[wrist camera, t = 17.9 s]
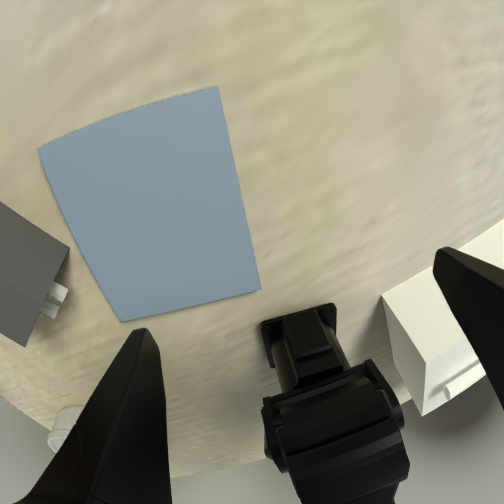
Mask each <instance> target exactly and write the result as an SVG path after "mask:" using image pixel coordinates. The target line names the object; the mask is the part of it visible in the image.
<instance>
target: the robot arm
mask: <svg viewBox="0 0 504 504" xmlns="http://www.w3.org/2000/svg"><path fill="white" fill-rule="evenodd" d="M432 271H433V276H434V278H435V280H436V282H437V284H438V286H439V288H440V290H441V292H442V294H443V296H444V298H445V300H446V302H447V304H448V306H449V308H450V310H451V312H452V314H453V315H454V317H455V319H456V321H457V322H458V324H459V326H460V327H461V329H462V331H463V332H464V334H465V336H466V338H467V339H468V341H469V343H470V345H471V346H472V348H473V350H474V352H475V354H476V355H477V357H478V359H479V361H480V363H481V365H482V367H483V369H484V371H485V373H486V374H487V376H488V378H489V380H490V382H491V384H492V386H493V389H494V391H495V392H496V395H497V397H498V399H499V401H500V403H501V405H502V408H503V410H504V269H502V268H499V267H497V266H495V265H492V264H490V263H488V262H485V261H483V260H480V259H478V258H476V257H473V256H471V255H468V254H466V253H463V252H461V251H458V250H456V249H453V248H451V247H443V248H440V249H438V250H437V252H436V255H435V260H434V264H433V270H432ZM330 308H331V309H330ZM336 317H337V308H336V306H335V304H334V303H328V304H324V305H321V306H317V307H314V308H310V309H307V310H303V311H299V312H296V313H292V314H288V315H285V316H281V317H277V318H273V319H269V320H266V321H263V322H261V324H260V329H261V333H262V337H263V341H264V345H265V349H266V353H267V357H268V361H269V365H270V368H276V371H277V375H278V378H279V382H280V385H281V389H282V392H283V393H281V394H278V395H275V396H272V397H270V396H268V397H265V398H263V405H264V407H262V410H261V414H262V418H263V423H264V430H265V437H264V452H265V455H266V457H267V458H269V459H271V460H273V461H274V463H275V464H276V465H277V467H278V469H279V471H280V472H281V473H282V474H283V473H287V472H289V474H290V477H291V479H292V482H293V485H294V487H295V490H296V493H297V495H298V497H299V498H300V500H301V503H302V504H395V502H394V496H395V494H396V491H397V488H398V485H399V482H401V481H403V480H405V479H406V478H407V477H408V472H409V467H410V462H409V459H408V456H407V454H406V450H405V447H404V443H403V440H402V436H401V433H400V430H402V429H403V428H404V417H403V413H402V409H401V407H400V404H399V401H398V399H397V397H396V395H395V393H394V392H393V390H392V388H391V387H390V386H389V384H388V383H387V381H386V380H385V378H384V377H383V375H382V374H381V372H380V371H379V370H378V368H377V367H376V365H375V364H374V362H373V361H372V359H371V358H370V359H368V360H366V361H364V363H361V364H359V365H357V366H354V367H352V368H351V367H350V365H349V363H348V361H347V359H346V357H345V354H344V352H343V350H342V348H341V346H340V344H339V342H338V340H337V337H336ZM265 326H267V327H265ZM13 504H172V496H171V485H170V473H169V459H168V443H167V421H166V398H165V389H164V382H163V375H162V367H161V358H160V351H159V347H158V345H157V343H156V342H155V340H154V338H153V337H152V335H151V333H150V332H149V330H148V329H147V328H140V329H136V330H133V331H132V332H131V334H130V335H129V337H128V338H127V340H126V341H125V343H124V344H123V346H122V348H121V349H120V351H119V352H118V354H117V355H116V357H115V358H114V360H113V362H112V363H111V365H110V366H109V368H108V369H107V371H106V373H105V374H104V376H103V377H102V379H101V381H100V382H99V384H98V386H97V387H96V389H95V390H94V392H93V394H92V395H91V397H90V399H89V400H88V402H87V404H86V405H85V407H84V409H83V410H82V412H81V414H80V415H79V417H78V419H77V420H76V424H74V425H73V427H72V429H71V431H70V432H69V434H68V436H67V437H66V439H65V441H64V442H63V444H62V446H61V447H60V449H59V450H58V452H57V453H56V455H55V456H54V458H53V459H52V461H51V462H50V464H49V465H48V467H47V468H46V470H45V471H44V473H43V474H42V475H41V477H40V478H39V480H38V481H37V482H36V484H35V485H34V487H33V488H32V490H31V491H30V492H29V493H28V494H27V495H26V496H25V497H24V498H23V499H21V500H20V501H18V502H16V503H13Z"/></svg>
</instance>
